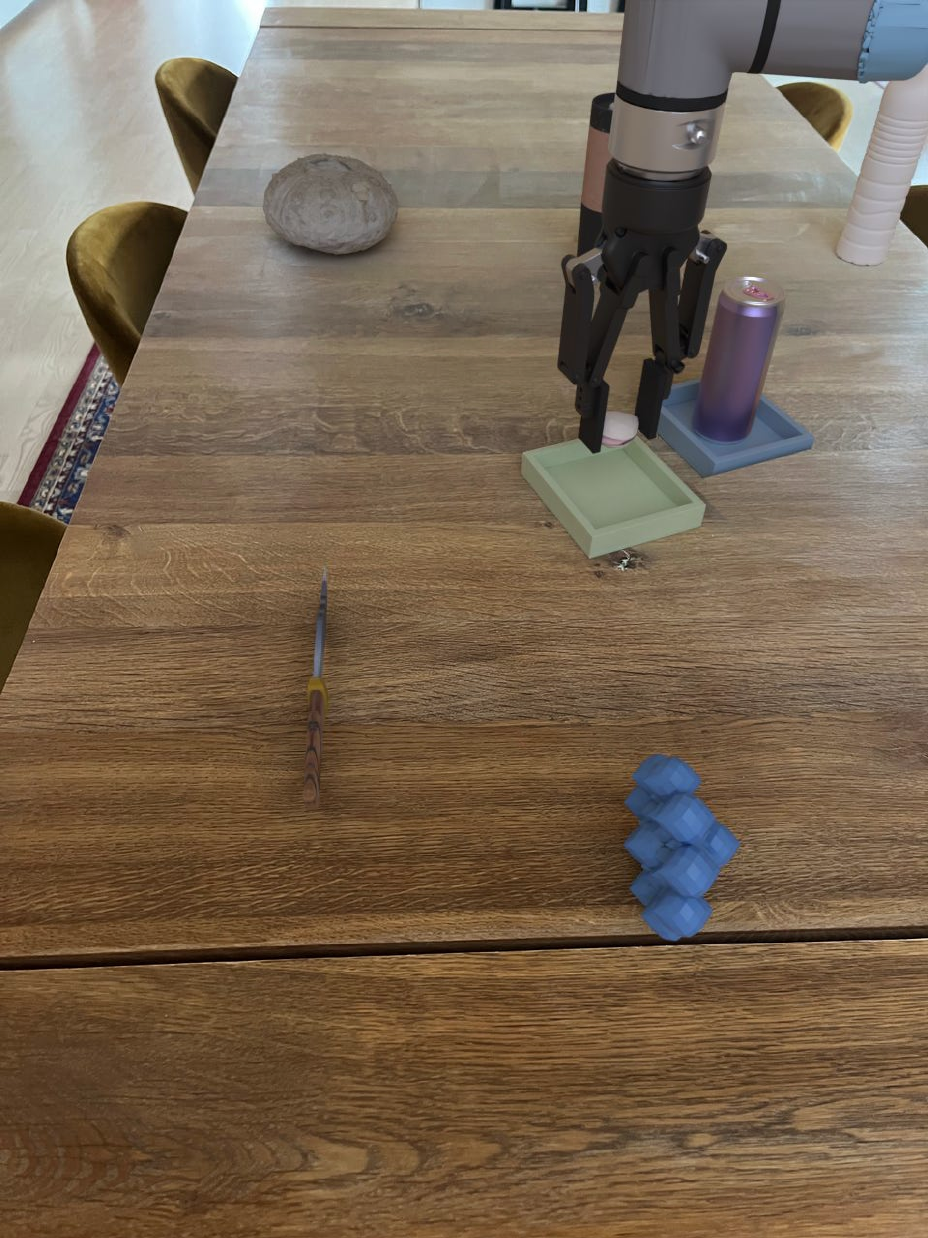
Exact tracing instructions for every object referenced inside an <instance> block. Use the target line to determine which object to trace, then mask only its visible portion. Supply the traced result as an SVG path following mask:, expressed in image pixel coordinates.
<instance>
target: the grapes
mask: <svg viewBox="0 0 928 1238" xmlns="http://www.w3.org/2000/svg"><path fill="white" fill-rule="evenodd" d="M631 778H632V780H633V781H634V782H635V784H636V786H635V787H633V789H632V791H631V792H630V793H629V794H628V796H627V797H626V799H625V800H624V802H623V803H624V805H625V806H626V807H627V809H628V810H629V811H630V812H631V813H632V814H633V815H634V817H636V819H638V820H639V821H638V823H637V825H638V826H637V827H636V828H634V829H633V830H632V831H631V833H630V834H629V835H628V837H627V838H626V840H625V842H624V843H623V847H624V848H625V849H626V850H627V852H628V853H629V854H630V855H631V856H632V858H633V859H634V860H635V861H637V862H638V863H639V864H641V865H640V867H641V869H643V870H641V872H639V874H638V875H637V876H636V878H635V879H634V881H633V882H632V883H631V885H630V887H629V890H630V891H631V893H632V894H633V895H634V896H635V897H636V898H637V900H638V901H639V902H640V903H641V905H643V906H644V907H645V908H644V909H643V911H642V912H641V915H640V917H641V918H642V919H643V921H644V922H645V923H646V924H647V926H648V927H649V928H650V929H651V930H652V932H654V933H655V934H656V935H658V936H659V937H660V938H662V939H664V940H665V941H669V942H670V941H672V942H678V941H679V940H680V939H681V938H692V937H693V936H695V935H697V934H698V933H699V932H700V931H701V930H702V929H703V927H704V926H705V925H706V923H707V922H708V920H709V919H710V917H711V915H712V913H713V912H714V909H713V907H712V906H711V905H710V903H709V902H708V901H707V900H706V899H705V897H704V896H703V895H704V894H707V892H708V891H709V890H710V889H711V888H712V886H713V885H714V883H715V882H716V881H717V879H718V878H719V875H720V874H721V872H722V870H721V868H722V867H724V866H725V865H726V864H728V863H729V862H730V861H731V860H732V858H733V857H734V856H735V854H736V853H737V851H738V849H739V847H740V846H741V841H739V839H738V838H737V836H736V835H735V834H734V833H733V832H732V831H731V830H730V829H729V827H727V826H726V825H725V824H723V823H721V822H720V821H717V820H716V819H717V817H716V815H715V814H714V813H713V811H712V810H711V809H710V808H709V807H708V806H707V804H706V803H705V802H704V801H703V800H701V799H700V797H698V796H696V795H694V794H695V793H696V791H697V790H698V789H699V787H700V785H701V784H702V782H703V780H702V779H701V777H700V775H698V773H697V772H696V771H695V770H694V768H692V767H691V765H689V764H688V763H687V762H686V761H685V760H683V759H681V758H679V757H677V756H668V755H666V754H664V753H661V752H660V753H653V754H651V755H649V756H648V757H646V758H645V759H644V760H643V761H641V763H640V765H638V767H637V769H636V770H635V771H634V773H633V774H632V775H631Z"/></svg>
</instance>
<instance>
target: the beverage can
mask: <svg viewBox="0 0 928 1238" xmlns="http://www.w3.org/2000/svg"><path fill="white" fill-rule="evenodd" d="M786 296H787V292H786V290H785V288H784V287H783V286H782V285H781V284H779V283H777V282H776V281H773V280H771V279H769V278H765V277H760V276H753V275H752V276H751V275H750V276H749V275H744V276H736V277H732V278H730V279H728V280H726V281H725V282H724V283H723V286H722V290H721V292H720V294H719V296H718V298H717V303H716V309H715V313H714V316H713V317H714V318H713V322H712V327H711V331H710V335H709V341H708V345H707V350H706V355H705V358H704V363H703V364H704V365H703V368H702V373H701V376H700V378H701V381H700V386H699V391H698V395H697V400H696V404H695V409H694V414H693V418H692V424H693V427H694V429H695V431H696V433H697V434H698V435H699V436H700V437H701V438H703V439H705V440H707V441H709V442H712V443H716V444H722V445H730V444H735V443H738V442H741V441H742V440H744V439H745V438H746V437H747V436H748V435H749V434H750V433H751V431H752V427H753V423H754V420H755V416H756V412H757V409H758V405H759V401H760V397H761V394H763V389H764V387H765V382H766V379H767V375H768V372H769V368H770V364H771V360H772V357H773V354H774V349H775V346H776V341H777V339H778V335H779V331H780V327H781V323H782V320H783V317H784V313H785V309H786V300H785V299H786Z"/></svg>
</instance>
